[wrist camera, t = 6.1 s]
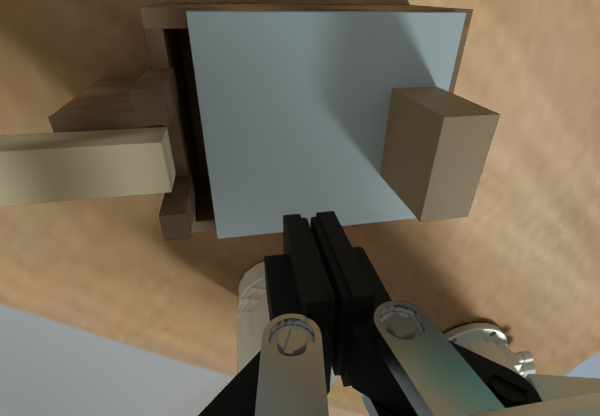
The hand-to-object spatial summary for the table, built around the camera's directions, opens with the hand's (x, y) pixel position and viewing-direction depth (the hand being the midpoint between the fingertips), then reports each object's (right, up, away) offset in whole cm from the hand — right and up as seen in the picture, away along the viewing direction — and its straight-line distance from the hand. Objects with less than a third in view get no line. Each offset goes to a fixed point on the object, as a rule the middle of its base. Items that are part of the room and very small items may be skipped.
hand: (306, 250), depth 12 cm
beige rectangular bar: (-10, +4, +5) cm, 12 cm away
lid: (+1, +6, +8) cm, 10 cm away
